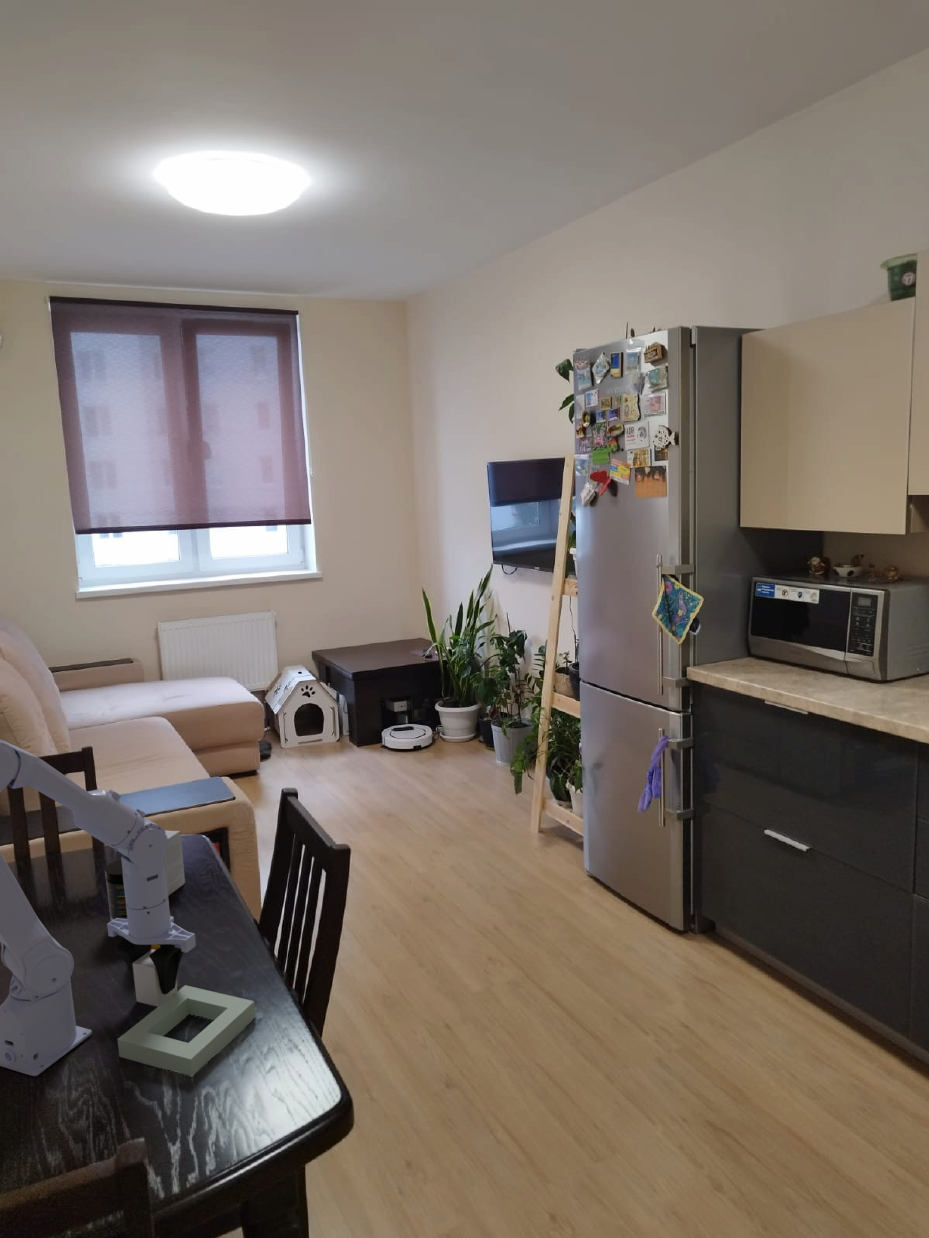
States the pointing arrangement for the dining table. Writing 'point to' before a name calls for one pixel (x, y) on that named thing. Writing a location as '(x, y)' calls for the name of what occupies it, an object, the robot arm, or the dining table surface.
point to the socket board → (149, 1033)
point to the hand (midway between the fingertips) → (156, 987)
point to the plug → (149, 982)
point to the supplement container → (116, 890)
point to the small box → (174, 862)
